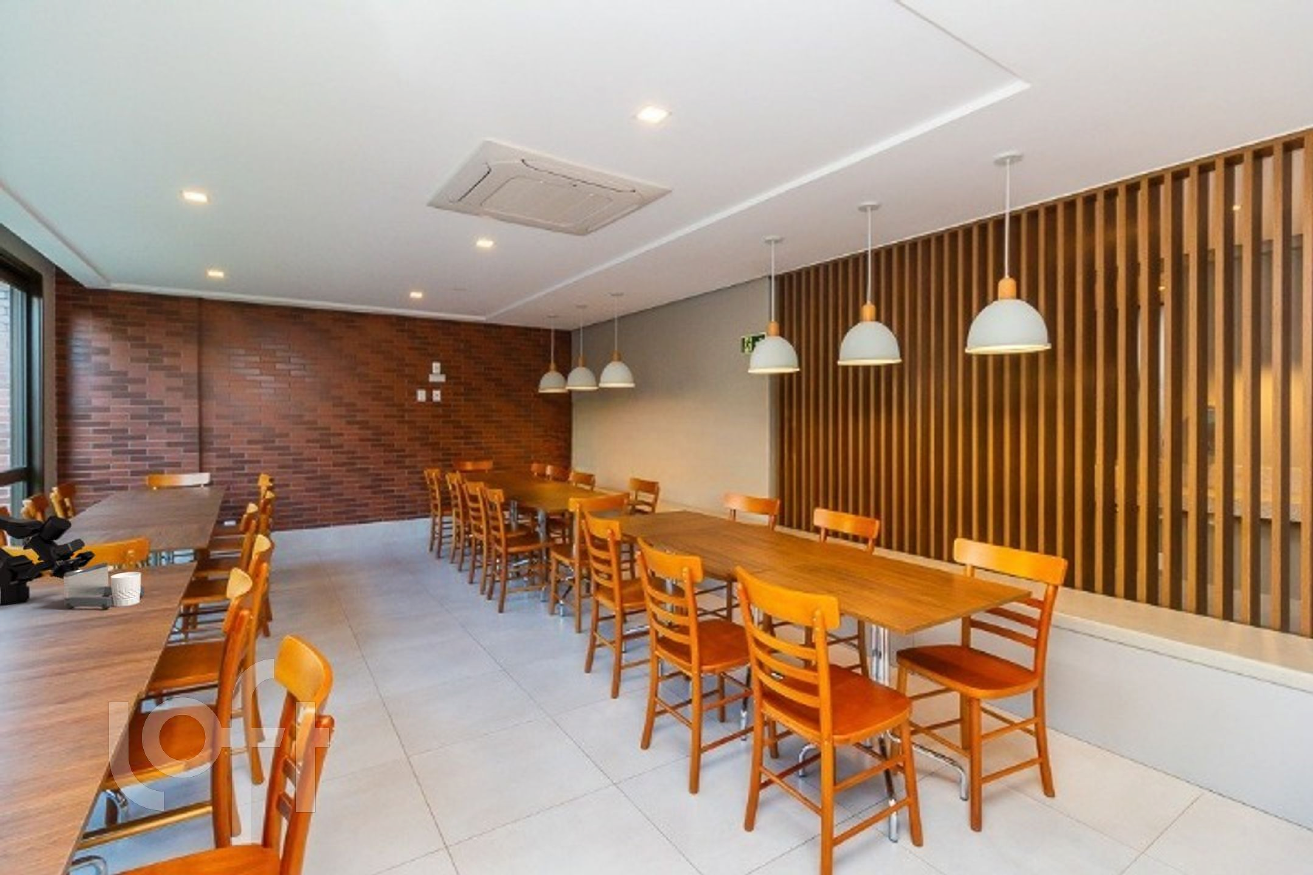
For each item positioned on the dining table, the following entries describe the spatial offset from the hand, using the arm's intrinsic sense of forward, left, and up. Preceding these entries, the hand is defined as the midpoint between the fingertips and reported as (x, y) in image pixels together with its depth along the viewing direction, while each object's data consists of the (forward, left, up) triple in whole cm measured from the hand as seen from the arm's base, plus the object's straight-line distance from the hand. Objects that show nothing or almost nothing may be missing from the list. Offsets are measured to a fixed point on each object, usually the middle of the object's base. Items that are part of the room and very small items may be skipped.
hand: (80, 582), depth 212 cm
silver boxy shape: (+6, -6, -7) cm, 11 cm away
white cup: (+12, -11, -7) cm, 18 cm away
